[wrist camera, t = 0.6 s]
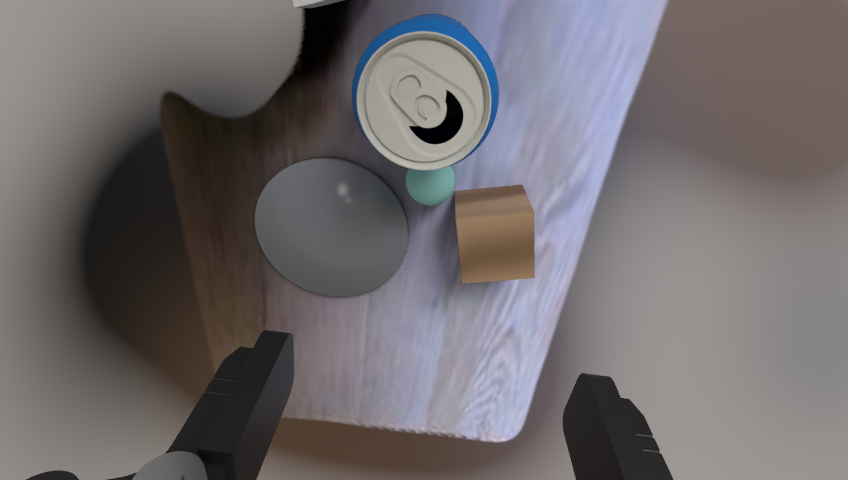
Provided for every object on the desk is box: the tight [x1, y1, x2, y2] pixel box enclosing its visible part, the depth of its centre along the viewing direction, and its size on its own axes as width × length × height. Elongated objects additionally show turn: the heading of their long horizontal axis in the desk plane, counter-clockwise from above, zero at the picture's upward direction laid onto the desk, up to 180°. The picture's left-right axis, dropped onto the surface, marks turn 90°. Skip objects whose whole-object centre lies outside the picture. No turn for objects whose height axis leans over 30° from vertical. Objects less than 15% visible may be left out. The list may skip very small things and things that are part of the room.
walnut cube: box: [455, 185, 534, 284], centre depth 31 cm, size 5×5×5 cm
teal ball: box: [406, 166, 456, 206], centre depth 30 cm, size 4×4×4 cm
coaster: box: [255, 157, 409, 297], centre depth 34 cm, size 12×12×1 cm
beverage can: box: [352, 14, 499, 170], centre depth 23 cm, size 6×6×12 cm
